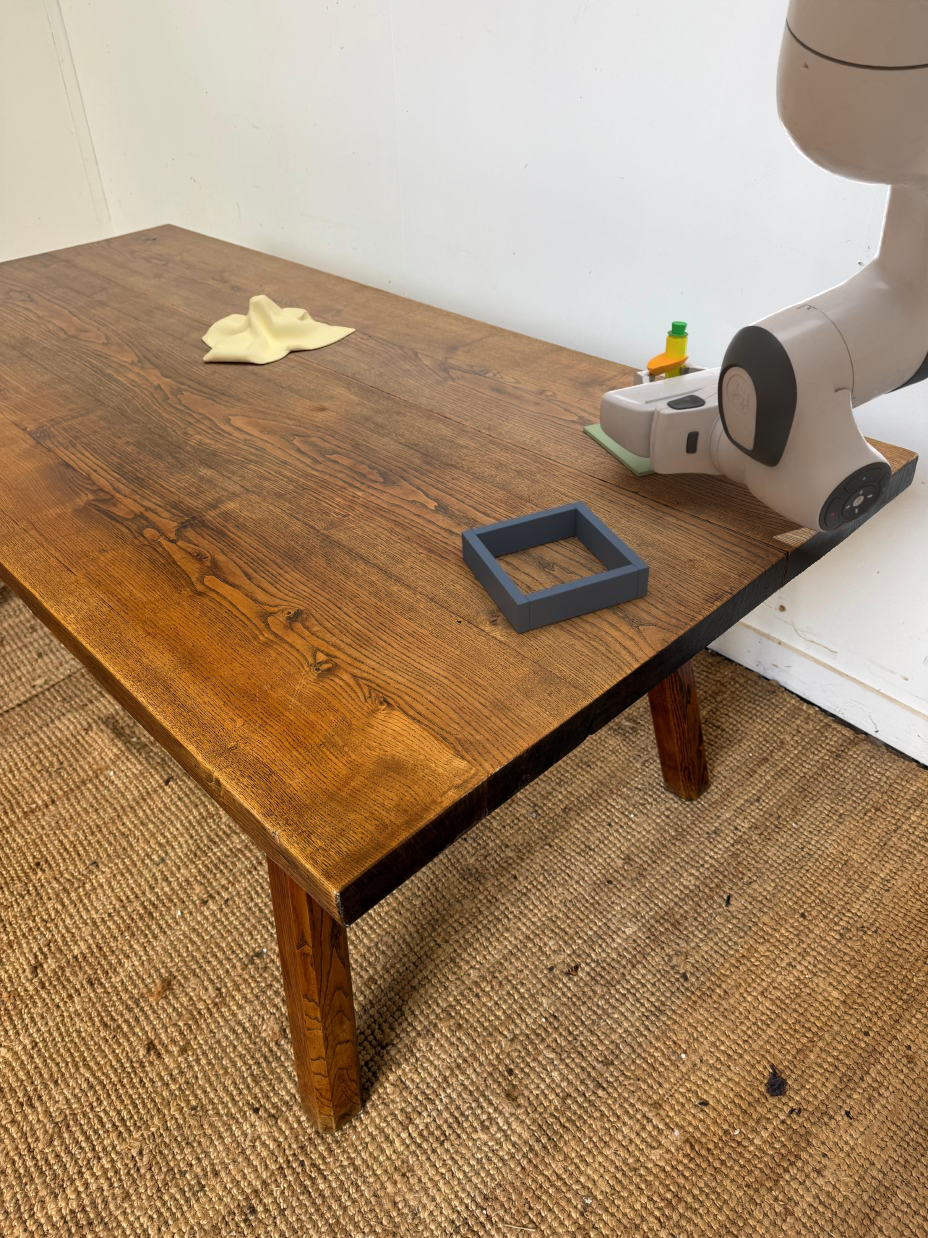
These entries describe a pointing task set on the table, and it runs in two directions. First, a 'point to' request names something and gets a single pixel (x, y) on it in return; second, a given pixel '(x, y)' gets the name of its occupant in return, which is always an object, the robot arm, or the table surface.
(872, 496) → the robot arm
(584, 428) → the felt mat
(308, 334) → the cloth
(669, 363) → the toy figure
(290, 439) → the table surface
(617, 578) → the open square frame
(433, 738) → the table surface
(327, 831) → the table surface
